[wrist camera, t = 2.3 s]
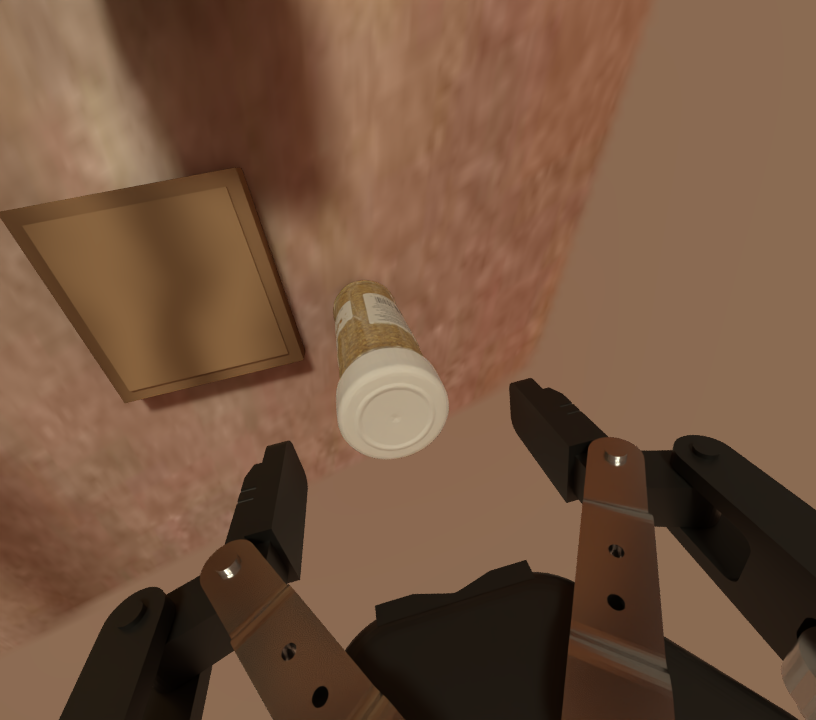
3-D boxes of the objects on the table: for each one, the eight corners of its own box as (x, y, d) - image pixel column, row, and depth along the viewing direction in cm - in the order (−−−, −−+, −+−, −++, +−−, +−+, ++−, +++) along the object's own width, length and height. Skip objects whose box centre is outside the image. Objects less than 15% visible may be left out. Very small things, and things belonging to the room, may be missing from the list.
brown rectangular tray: (135, 391, 25) (123, 404, 24) (19, 210, 20) (-6, 212, 18) (305, 351, 26) (303, 361, 25) (241, 168, 21) (234, 167, 19)
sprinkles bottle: (319, 302, 25) (311, 411, 13) (374, 265, 25) (416, 344, 13) (357, 350, 27) (379, 481, 15) (408, 317, 27) (470, 425, 15)
